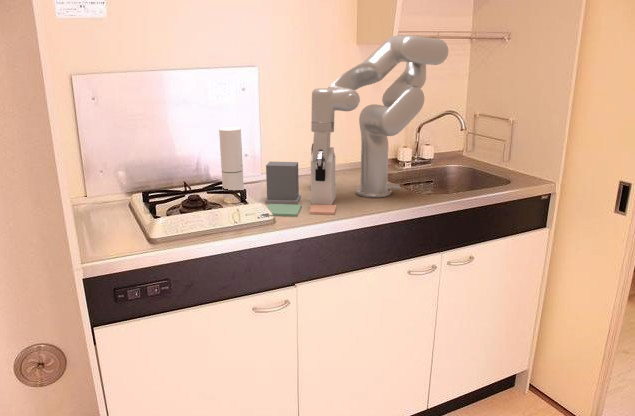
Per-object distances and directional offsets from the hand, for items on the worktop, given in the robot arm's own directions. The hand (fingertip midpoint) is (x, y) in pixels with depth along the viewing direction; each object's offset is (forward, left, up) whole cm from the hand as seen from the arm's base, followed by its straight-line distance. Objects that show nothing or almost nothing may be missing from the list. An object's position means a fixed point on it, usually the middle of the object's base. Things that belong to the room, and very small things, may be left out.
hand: (321, 177), depth 181 cm
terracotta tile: (-2, +10, -9) cm, 13 cm away
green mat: (+12, +12, -9) cm, 18 cm away
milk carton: (0, 0, -9) cm, 9 cm away
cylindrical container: (+30, +2, -9) cm, 32 cm away
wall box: (+14, 0, -9) cm, 16 cm away
